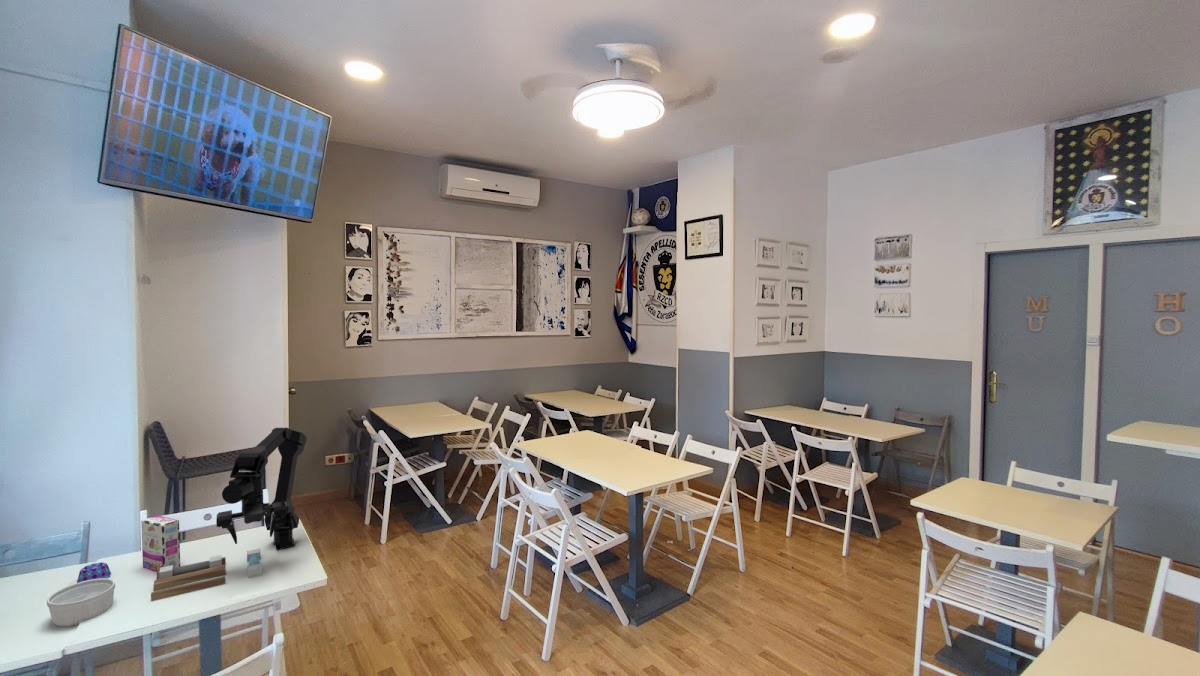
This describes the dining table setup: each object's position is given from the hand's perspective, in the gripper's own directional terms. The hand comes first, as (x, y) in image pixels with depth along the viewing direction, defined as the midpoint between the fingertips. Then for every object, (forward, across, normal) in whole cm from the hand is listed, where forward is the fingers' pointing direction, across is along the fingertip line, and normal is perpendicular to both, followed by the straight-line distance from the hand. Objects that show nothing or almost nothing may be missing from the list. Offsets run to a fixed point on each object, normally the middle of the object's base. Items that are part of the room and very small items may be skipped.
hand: (253, 539), depth 169 cm
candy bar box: (+10, -24, +15) cm, 30 cm away
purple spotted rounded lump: (+10, -40, +17) cm, 45 cm away
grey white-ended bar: (+8, -16, +4) cm, 19 cm away
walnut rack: (+10, -16, 0) cm, 19 cm away
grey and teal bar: (+10, 0, 0) cm, 10 cm away
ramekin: (+10, -39, -4) cm, 41 cm away
